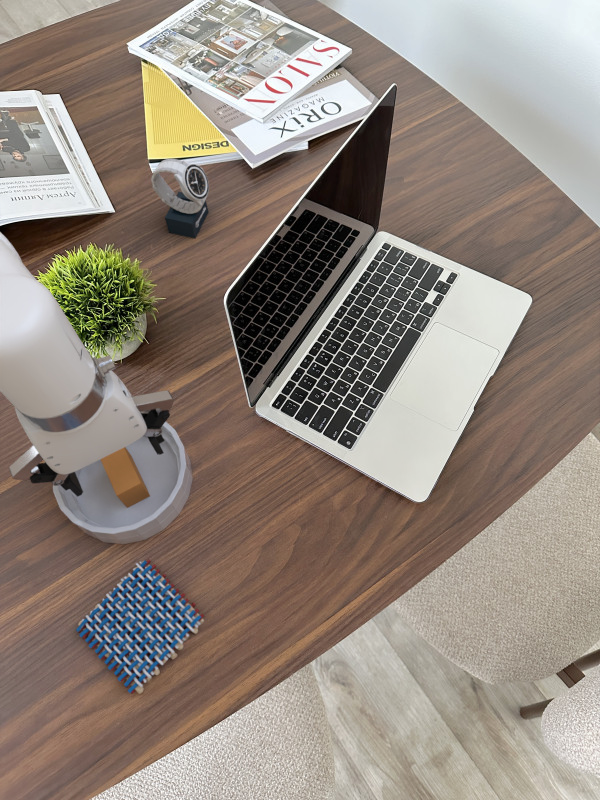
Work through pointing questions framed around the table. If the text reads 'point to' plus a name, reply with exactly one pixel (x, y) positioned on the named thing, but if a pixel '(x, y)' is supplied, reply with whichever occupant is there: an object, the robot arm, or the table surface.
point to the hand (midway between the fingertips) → (116, 463)
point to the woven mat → (140, 625)
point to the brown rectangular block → (125, 477)
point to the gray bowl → (144, 519)
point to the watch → (183, 196)
